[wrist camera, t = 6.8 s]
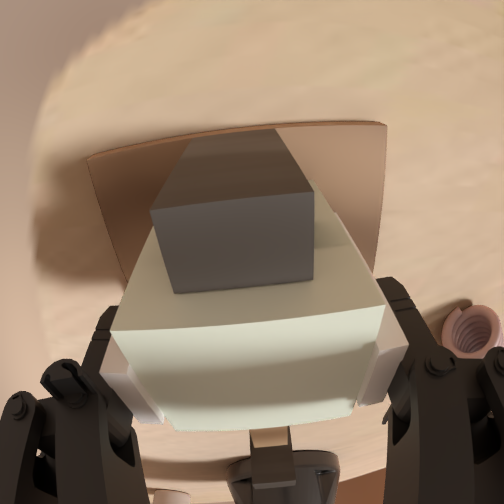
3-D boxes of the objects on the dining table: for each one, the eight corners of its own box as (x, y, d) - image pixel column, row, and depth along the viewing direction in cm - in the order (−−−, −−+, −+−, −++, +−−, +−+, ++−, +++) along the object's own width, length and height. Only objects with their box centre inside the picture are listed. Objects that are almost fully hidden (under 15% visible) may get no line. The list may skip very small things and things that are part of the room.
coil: (451, 373, 15) (480, 415, 23) (510, 335, 13) (514, 394, 21) (431, 319, 19) (469, 382, 26) (482, 285, 17) (501, 362, 24)
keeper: (312, 282, 14) (350, 415, 8) (192, 294, 14) (175, 431, 8) (313, 179, 11) (385, 304, 6) (167, 195, 11) (109, 330, 6)
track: (338, 402, 23) (354, 474, 17) (198, 416, 23) (195, 489, 18) (379, 122, 11) (493, 185, 5) (94, 154, 11) (-7, 240, 5)
